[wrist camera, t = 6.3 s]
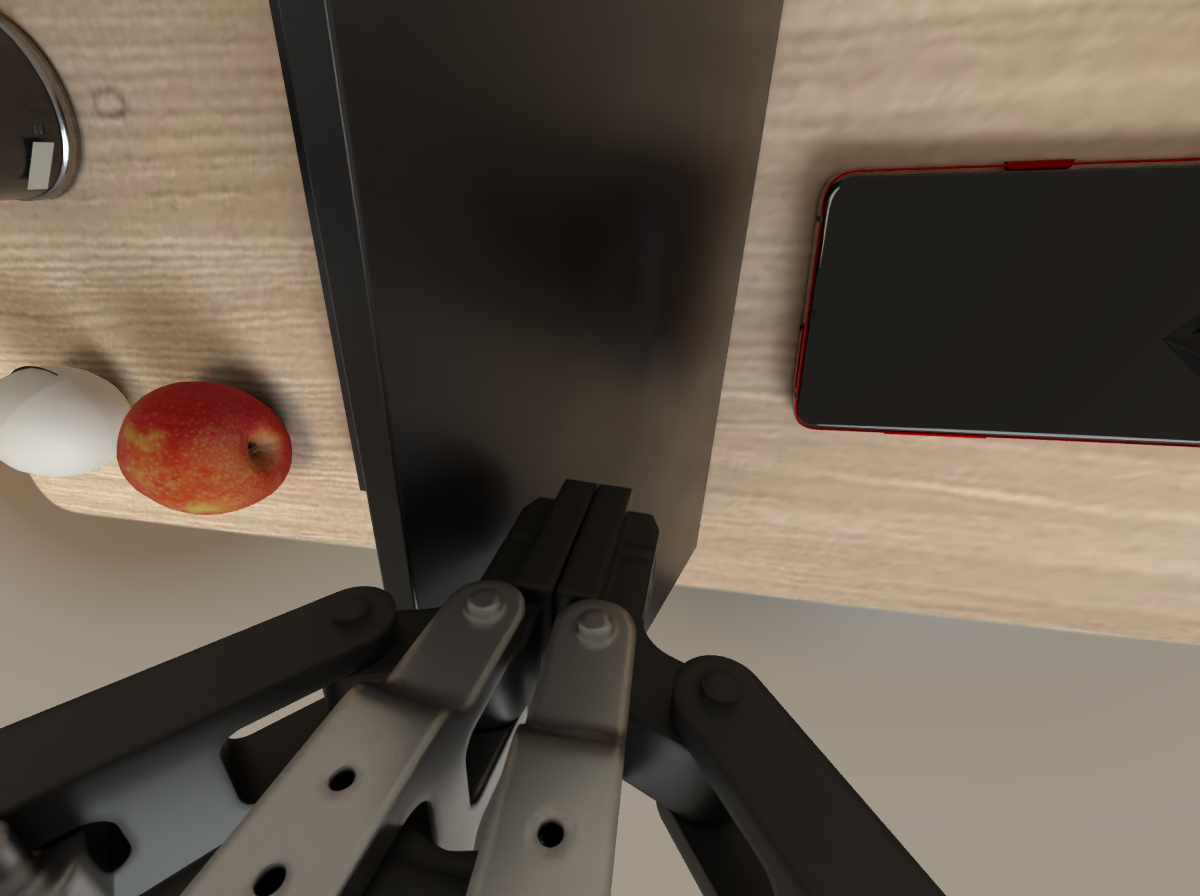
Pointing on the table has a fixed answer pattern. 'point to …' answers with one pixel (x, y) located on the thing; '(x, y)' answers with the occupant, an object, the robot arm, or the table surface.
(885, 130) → the table surface
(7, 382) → the white sphere
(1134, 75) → the table surface
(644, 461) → the laptop screen
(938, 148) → the table surface
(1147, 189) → the smartphone
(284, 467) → the apple
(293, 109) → the laptop
